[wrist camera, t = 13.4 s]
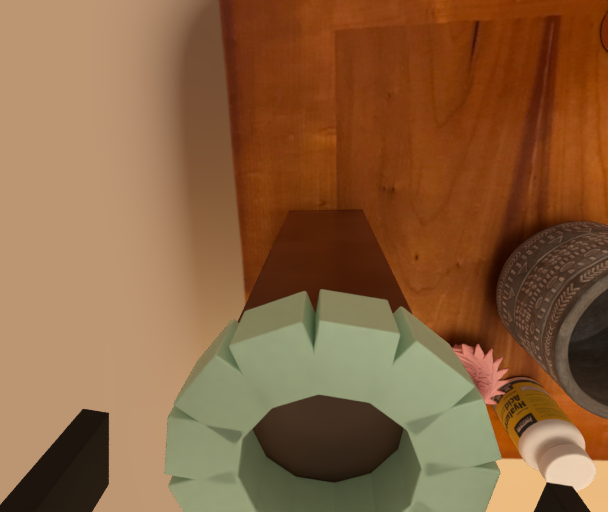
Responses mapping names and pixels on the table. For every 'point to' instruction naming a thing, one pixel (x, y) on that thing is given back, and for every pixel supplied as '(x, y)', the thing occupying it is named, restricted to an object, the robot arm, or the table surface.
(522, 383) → the supplement bottle
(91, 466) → the robot arm
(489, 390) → the flower
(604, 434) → the table surface
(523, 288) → the planter
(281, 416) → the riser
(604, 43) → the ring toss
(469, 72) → the table surface
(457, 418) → the ring
